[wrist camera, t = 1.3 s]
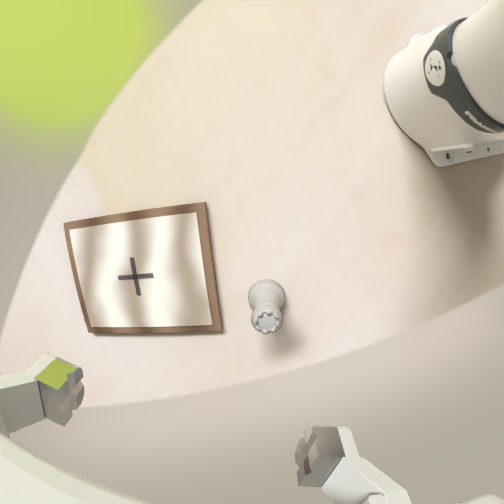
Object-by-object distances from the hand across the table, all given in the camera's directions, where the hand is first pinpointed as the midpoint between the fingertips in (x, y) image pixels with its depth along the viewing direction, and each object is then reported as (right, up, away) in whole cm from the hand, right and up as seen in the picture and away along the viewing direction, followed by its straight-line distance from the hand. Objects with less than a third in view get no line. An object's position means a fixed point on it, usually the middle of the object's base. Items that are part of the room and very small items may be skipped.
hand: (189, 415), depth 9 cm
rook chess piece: (+4, 0, +29) cm, 29 cm away
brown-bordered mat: (-12, +3, +29) cm, 32 cm away
